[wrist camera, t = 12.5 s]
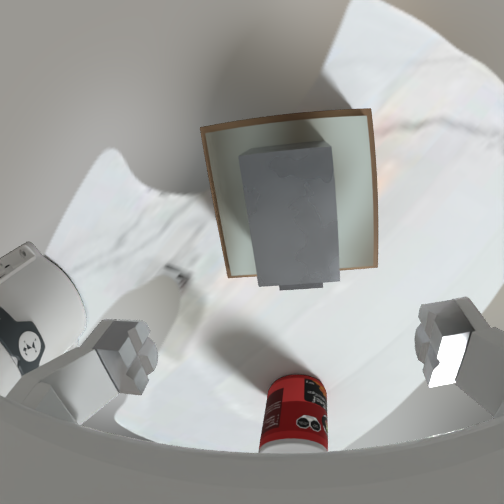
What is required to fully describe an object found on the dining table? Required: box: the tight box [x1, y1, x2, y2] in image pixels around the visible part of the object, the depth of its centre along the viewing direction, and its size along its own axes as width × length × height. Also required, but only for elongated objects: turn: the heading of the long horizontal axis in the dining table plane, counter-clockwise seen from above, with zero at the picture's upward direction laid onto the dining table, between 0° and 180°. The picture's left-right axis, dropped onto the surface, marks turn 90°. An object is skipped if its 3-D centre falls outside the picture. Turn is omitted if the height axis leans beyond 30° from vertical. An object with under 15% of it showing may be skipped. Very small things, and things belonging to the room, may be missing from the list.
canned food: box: [259, 375, 328, 453], centre depth 35 cm, size 8×8×11 cm
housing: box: [238, 141, 340, 290], centre depth 20 cm, size 10×5×4 cm, turn 8°
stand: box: [200, 108, 378, 278], centre depth 25 cm, size 12×12×8 cm
